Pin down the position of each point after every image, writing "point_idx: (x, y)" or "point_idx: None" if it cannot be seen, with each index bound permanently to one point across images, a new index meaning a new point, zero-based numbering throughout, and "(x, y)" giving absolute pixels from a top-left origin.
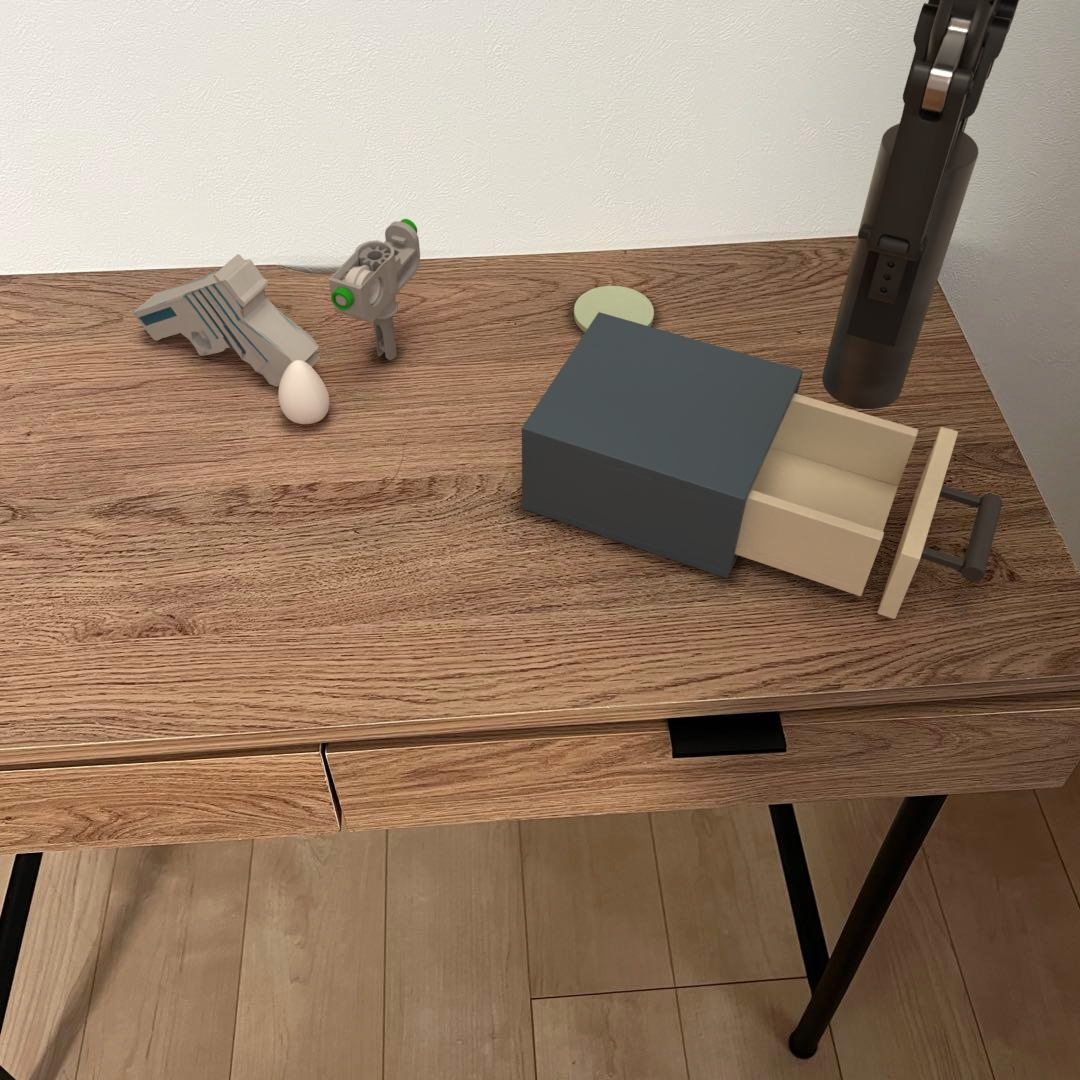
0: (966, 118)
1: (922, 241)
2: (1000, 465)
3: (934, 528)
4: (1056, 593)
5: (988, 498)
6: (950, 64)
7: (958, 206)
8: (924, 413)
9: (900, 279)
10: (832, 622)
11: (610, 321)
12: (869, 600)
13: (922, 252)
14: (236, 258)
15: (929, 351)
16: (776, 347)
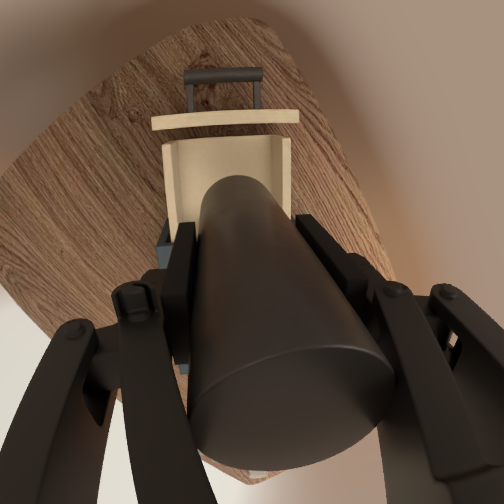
0: (134, 405)
1: (412, 293)
2: (107, 89)
3: (185, 107)
4: (206, 29)
5: (189, 79)
6: None
7: (308, 278)
8: (84, 150)
9: (378, 272)
10: (292, 144)
11: (185, 366)
12: (265, 128)
13: (365, 274)
14: (252, 477)
15: (31, 171)
16: (81, 258)
